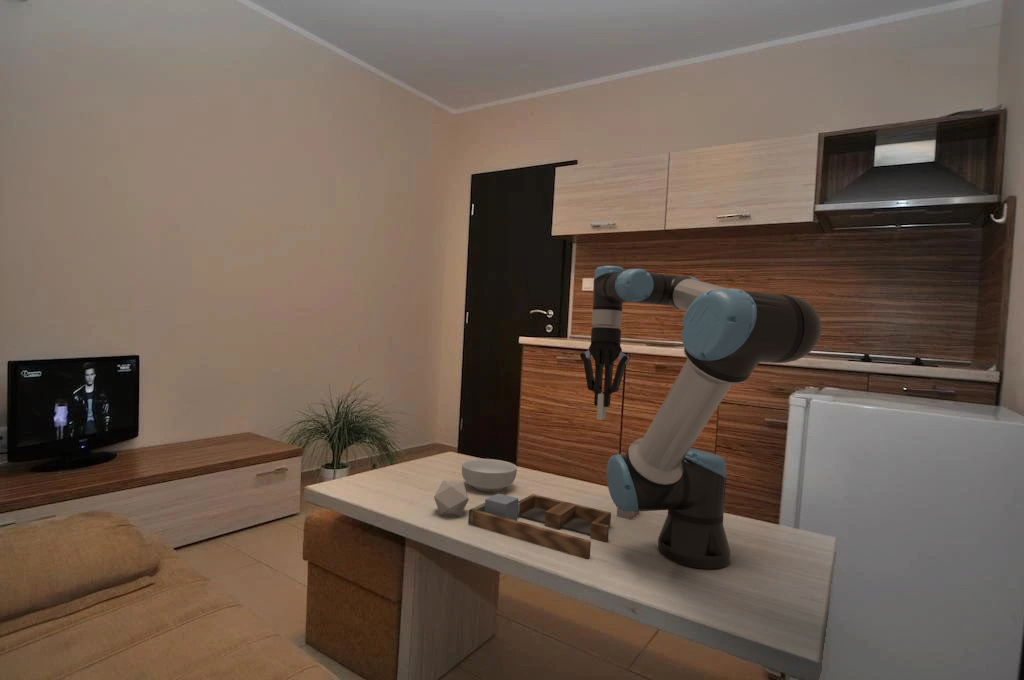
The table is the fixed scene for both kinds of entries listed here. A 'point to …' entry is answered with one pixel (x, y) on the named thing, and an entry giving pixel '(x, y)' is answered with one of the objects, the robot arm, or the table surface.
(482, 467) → the cereal bowl
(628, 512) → the gable top carton
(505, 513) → the slate block
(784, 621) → the table surface
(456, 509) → the die
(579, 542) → the wooden compartment tray
